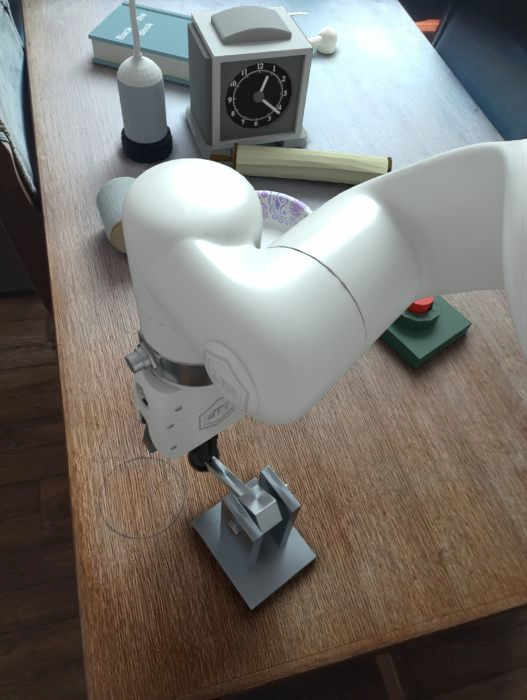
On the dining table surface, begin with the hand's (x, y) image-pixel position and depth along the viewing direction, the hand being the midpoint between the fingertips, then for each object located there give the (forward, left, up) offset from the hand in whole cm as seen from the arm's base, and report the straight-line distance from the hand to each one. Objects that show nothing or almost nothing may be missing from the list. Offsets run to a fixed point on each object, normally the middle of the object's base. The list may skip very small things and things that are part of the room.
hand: (200, 445), depth 53 cm
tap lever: (-5, 0, -1) cm, 6 cm away
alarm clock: (+48, -41, -7) cm, 63 cm away
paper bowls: (+20, -23, -7) cm, 31 cm away
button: (+2, -34, -3) cm, 34 cm away
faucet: (+63, -65, -7) cm, 91 cm away
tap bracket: (-9, 0, -7) cm, 11 cm away
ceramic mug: (+35, -13, -7) cm, 38 cm away
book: (+76, -42, -7) cm, 87 cm away
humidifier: (+52, -24, -7) cm, 58 cm away
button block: (+2, -34, -7) cm, 35 cm away
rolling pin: (+31, -42, -7) cm, 53 cm away
